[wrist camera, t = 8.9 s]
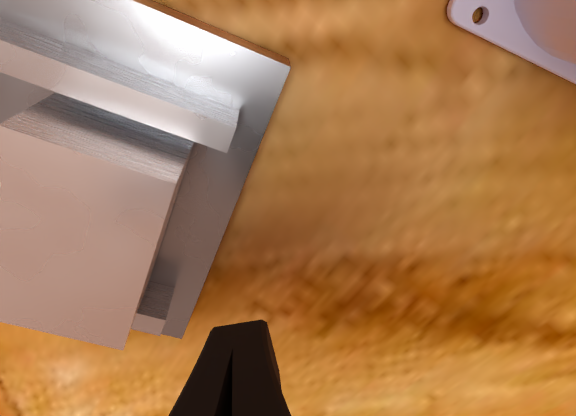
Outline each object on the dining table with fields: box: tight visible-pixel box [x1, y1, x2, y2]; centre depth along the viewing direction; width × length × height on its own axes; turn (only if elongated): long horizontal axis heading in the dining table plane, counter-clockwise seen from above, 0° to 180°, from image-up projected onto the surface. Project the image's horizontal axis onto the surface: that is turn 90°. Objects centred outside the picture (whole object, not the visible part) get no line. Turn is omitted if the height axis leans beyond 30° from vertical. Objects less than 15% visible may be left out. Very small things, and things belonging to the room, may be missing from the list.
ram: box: [0, 92, 194, 350], centre depth 12 cm, size 5×6×4 cm
